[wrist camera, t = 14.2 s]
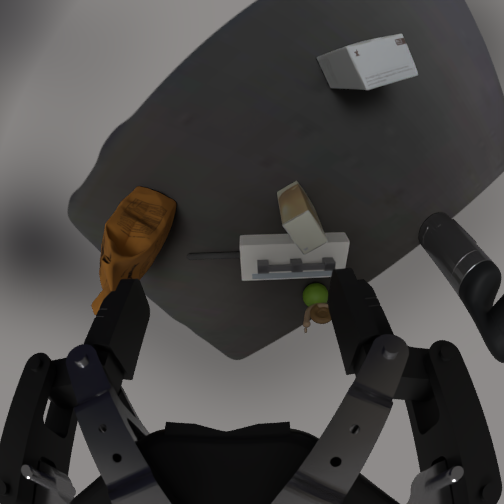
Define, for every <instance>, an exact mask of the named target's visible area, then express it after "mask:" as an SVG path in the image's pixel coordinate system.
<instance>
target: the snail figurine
mask: <svg viewBox="0 0 504 504" xmlns="http://www.w3.org/2000/svg"><path fill="white" fill-rule="evenodd" d="M303 300H304V302H305V304H306V305H307V306H308V308H307V309H306V311H305V315H304V322H303V326H304V327H306V328H305V329H304V330H305V331H304V332H305V333H306V332H307V331H306V330H307V327H309V326H310V321H309V320H310V317H311V319H312V320H313V321H314V322H316V323H319V324H325V323H328V322H329V321H331V316H330V313H329V308H328V304H326V303H327V301H328V291H327V289H326V287H325V286H324V285H322V284H320V283H312V284H310V285H308V286H307V287H306V288H305V290H304V292H303Z"/></svg>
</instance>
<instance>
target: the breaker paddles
mask: <svg viewBox="0 0 504 504" xmlns="http://www.w3.org/2000/svg"><path fill="white" fill-rule="evenodd" d="M335 266H336V262H335V260H334V259H333V257H323V258H322V263H303V262H302V260H301V258H298V259H290V264H277V265H269V262H268V260H257V270H258V274H266V273H269V272H279V271H291V272H303V270H324V271H333V269H335Z"/></svg>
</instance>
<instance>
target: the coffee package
mask: <svg viewBox="0 0 504 504" xmlns="http://www.w3.org/2000/svg"><path fill="white" fill-rule="evenodd" d="M175 211H176V202H175V201H174V200H173V199H170V198H168V197H167V196H165V195H163V194H161V193H159V192H157V191H153V190H151V189H149V188H144V187H140V186H138V187H136V188H135V190H134V191H133V192H132V193H130V194H129V195H128V196H127V197H126V198H125V199H123V200H122V201H121V202H120V204H119V206H118V207H117V209H116V211H115V212H114V213H113V215H112V216H111V217H110V219H109V220H108V221H107V222H106V224H105V230H104V235H103V240H102V246H101V257H100V270H99V275H100V281H101V285H102V288H103V290H102V292H101V293H100V294H99V295H98V297H97V298H96V299H95V300H94V301H93V303H92V309H93V312H94V314H95V315H96V314H97V312H98V310H99V308H100V306H101V304H102V301H103V299H104V298H105V297H106V296H107V295H108V294H109V293H110V292H111V291H115V290H116V288H117V286H118V284H119V282H120V280H121V279H139V280H140V279H141V278H142V277H143V275H144V274H145V273H146V272H147V271H148V269H149V268H150V267H151V265H152V263H153V262H154V260H155V258H156V256H157V255H158V253H159V251H160V250H161V248H162V246H163V244H164V242H165V240H166V238H167V236H168V234H169V231H170V229H171V226H172V223H173V219H174V215H175Z"/></svg>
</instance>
